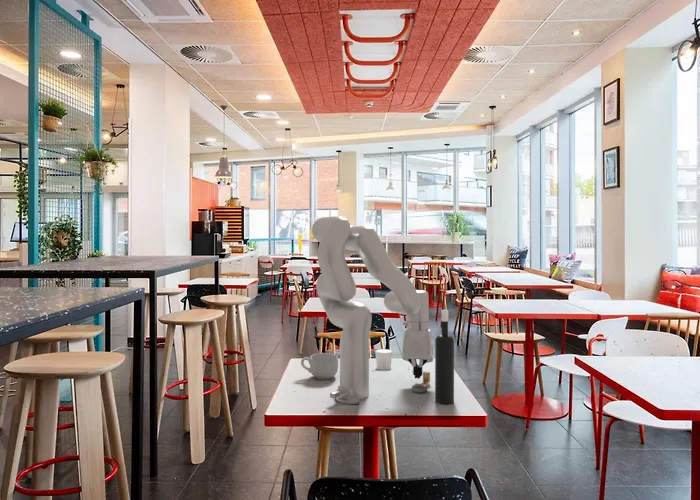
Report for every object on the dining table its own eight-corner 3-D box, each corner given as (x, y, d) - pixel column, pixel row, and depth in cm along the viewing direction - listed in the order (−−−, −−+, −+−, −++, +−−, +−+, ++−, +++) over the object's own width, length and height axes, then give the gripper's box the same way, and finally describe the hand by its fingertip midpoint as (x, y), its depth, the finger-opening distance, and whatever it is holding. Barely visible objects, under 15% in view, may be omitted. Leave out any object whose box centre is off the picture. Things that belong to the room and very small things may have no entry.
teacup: (340, 374, 194) (340, 353, 194) (335, 382, 184) (335, 360, 183) (305, 372, 197) (305, 352, 196) (298, 380, 186) (297, 358, 186)
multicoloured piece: (425, 394, 165) (425, 382, 165) (410, 392, 167) (410, 380, 167) (434, 383, 177) (434, 372, 177) (420, 382, 179) (420, 370, 179)
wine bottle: (454, 409, 155) (454, 311, 154) (435, 408, 156) (435, 311, 155) (453, 403, 161) (453, 308, 160) (435, 402, 162) (435, 308, 161)
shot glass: (392, 366, 206) (392, 348, 206) (392, 370, 199) (392, 352, 199) (375, 365, 207) (375, 348, 206) (374, 370, 200) (374, 352, 200)
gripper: (394, 326, 176) (394, 378, 177) (437, 328, 171) (437, 382, 172) (399, 322, 183) (399, 372, 184) (440, 324, 179) (440, 376, 179)
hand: (417, 377), depth 178 cm, fingers closed
